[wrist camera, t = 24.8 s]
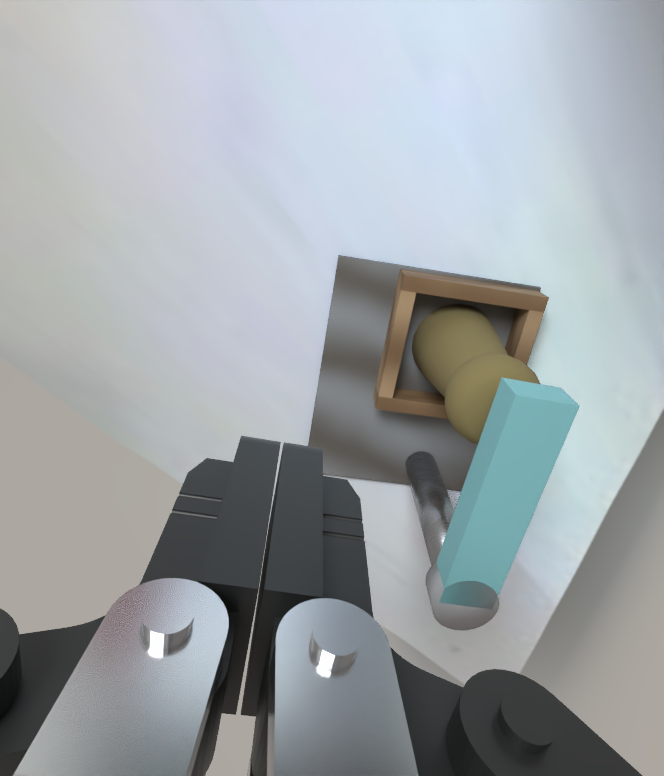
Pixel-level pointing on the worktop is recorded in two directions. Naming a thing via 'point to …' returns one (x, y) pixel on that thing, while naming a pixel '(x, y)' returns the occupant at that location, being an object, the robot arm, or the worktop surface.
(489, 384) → the olive rounded bulb piece
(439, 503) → the post
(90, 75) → the worktop surface
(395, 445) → the grey metal base plate
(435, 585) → the bar
